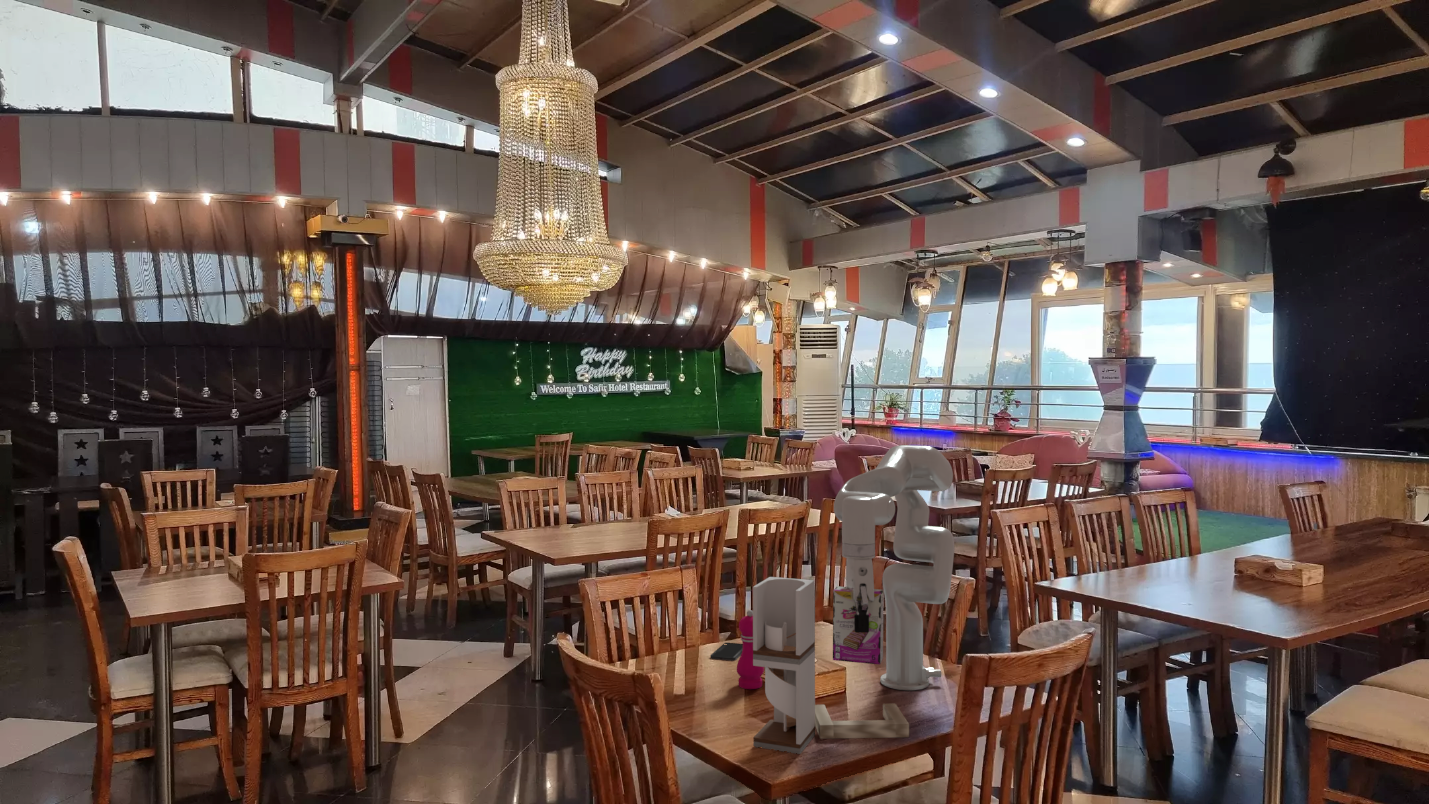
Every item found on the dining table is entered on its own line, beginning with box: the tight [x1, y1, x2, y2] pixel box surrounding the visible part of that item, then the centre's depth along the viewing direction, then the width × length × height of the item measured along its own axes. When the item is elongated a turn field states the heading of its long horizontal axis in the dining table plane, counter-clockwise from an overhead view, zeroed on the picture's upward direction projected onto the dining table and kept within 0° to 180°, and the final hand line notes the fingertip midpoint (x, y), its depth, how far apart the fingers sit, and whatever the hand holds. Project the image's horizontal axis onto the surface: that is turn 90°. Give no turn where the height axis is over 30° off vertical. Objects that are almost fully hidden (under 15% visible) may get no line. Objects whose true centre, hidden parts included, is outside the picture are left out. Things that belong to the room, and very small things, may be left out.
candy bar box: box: [832, 586, 885, 665], centre depth 205 cm, size 11×5×16 cm, turn 73°
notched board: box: [815, 703, 910, 740], centre depth 205 cm, size 20×13×3 cm, turn 92°
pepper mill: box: [736, 609, 765, 690], centre depth 234 cm, size 7×7×20 cm
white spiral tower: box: [752, 576, 816, 755], centre depth 197 cm, size 11×11×35 cm
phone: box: [710, 642, 743, 662], centre depth 264 cm, size 8×1×15 cm
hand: (858, 627), depth 205 cm, fingers closed on candy bar box, 6 cm apart
